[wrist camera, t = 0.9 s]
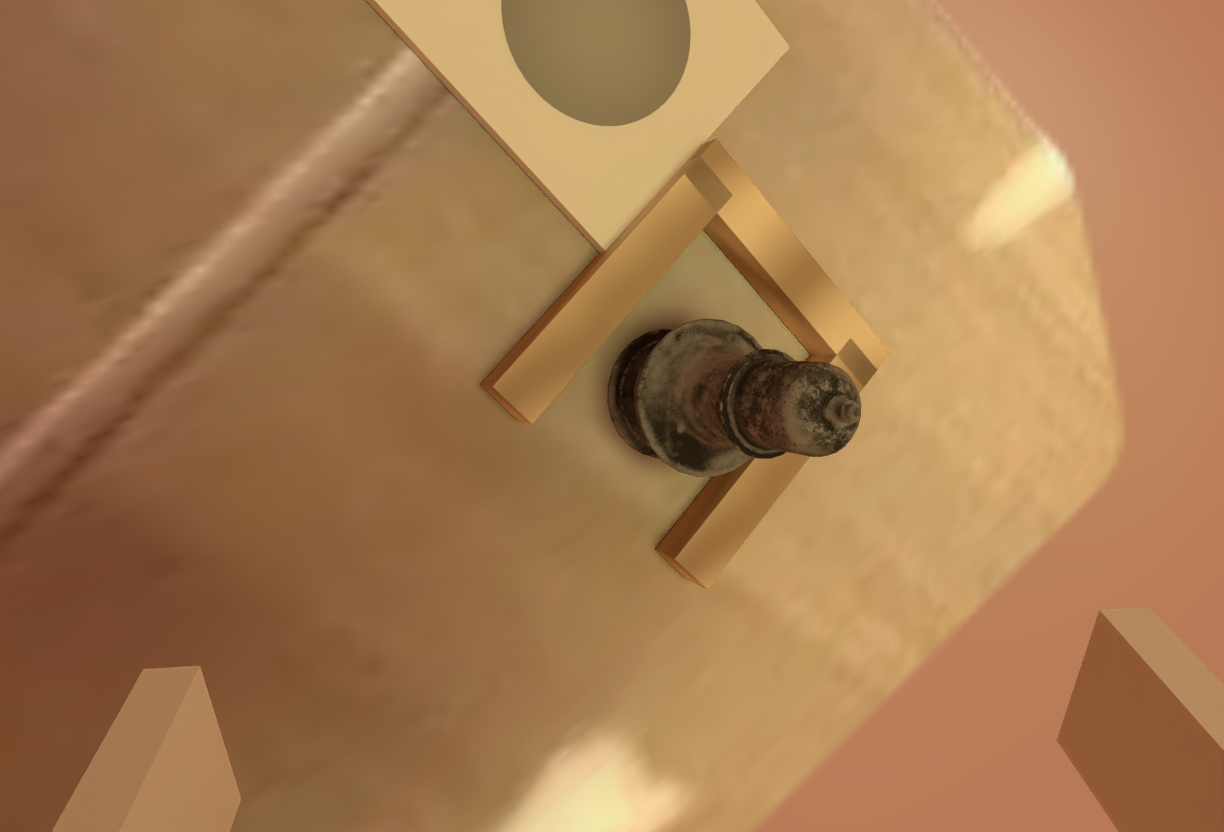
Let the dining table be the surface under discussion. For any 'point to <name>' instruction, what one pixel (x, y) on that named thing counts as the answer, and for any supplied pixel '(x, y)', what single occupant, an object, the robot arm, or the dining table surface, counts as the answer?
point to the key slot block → (624, 275)
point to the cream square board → (593, 87)
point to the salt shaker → (726, 400)
